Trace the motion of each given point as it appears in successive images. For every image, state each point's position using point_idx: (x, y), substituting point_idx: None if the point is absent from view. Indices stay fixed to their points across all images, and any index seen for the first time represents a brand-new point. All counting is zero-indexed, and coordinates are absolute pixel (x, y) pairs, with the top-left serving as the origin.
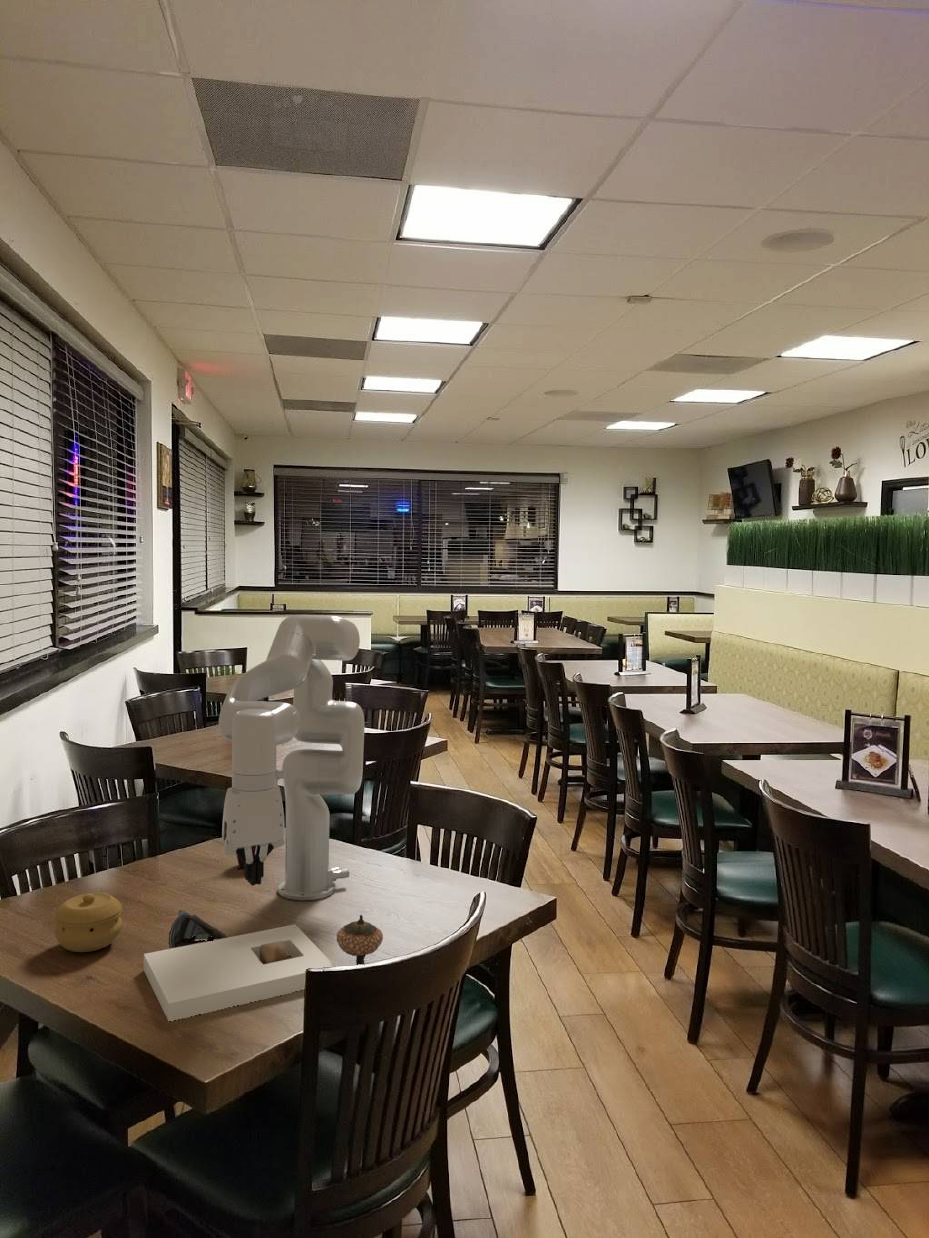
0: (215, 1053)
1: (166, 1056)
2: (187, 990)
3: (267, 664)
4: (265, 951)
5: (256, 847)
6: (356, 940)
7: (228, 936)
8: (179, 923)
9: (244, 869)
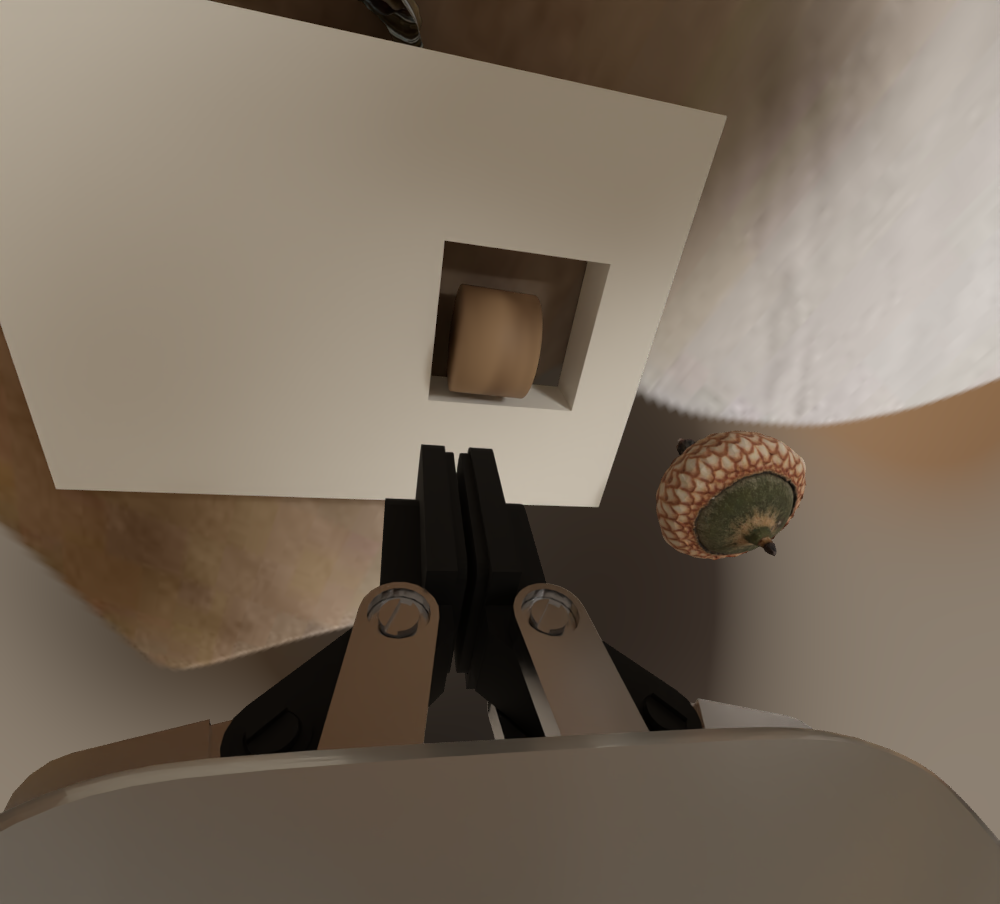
0: (201, 612)
1: (80, 585)
2: (127, 440)
3: None
4: (455, 377)
5: (538, 697)
6: (685, 553)
7: (410, 12)
8: None
9: (383, 537)
